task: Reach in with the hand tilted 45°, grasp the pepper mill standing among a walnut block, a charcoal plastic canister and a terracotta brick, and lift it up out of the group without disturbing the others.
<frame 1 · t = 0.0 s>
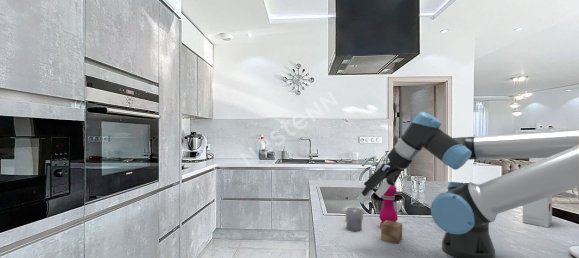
hand: (369, 198, 108), 15 cm above the countertop, tool tilted 35°, fingers open, 13 cm apart
pepper mill: (388, 228, 121), on the countertop
terracotta brick: (354, 221, 130), on the countertop
walnut block: (391, 239, 108), on the countertop
supplement box: (537, 223, 130), on the countertop
charcoal canister: (354, 229, 119), on the countertop
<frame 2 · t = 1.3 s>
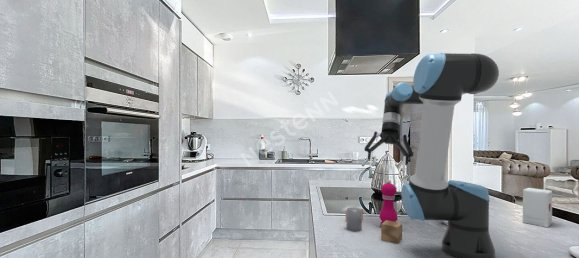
hand: (386, 169, 124), 24 cm above the countertop, tool tilted 25°, fingers open, 13 cm apart
nothing on the countertop moved.
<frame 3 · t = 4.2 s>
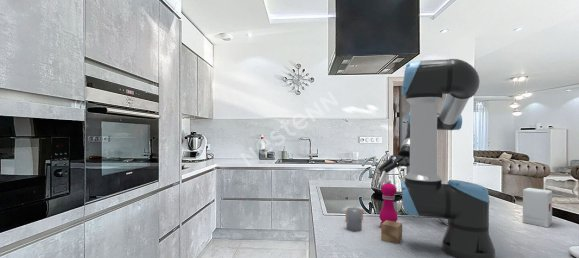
hand: (394, 186, 127), 16 cm above the countertop, tool tilted 45°, fingers open, 13 cm apart
nothing on the countertop moved.
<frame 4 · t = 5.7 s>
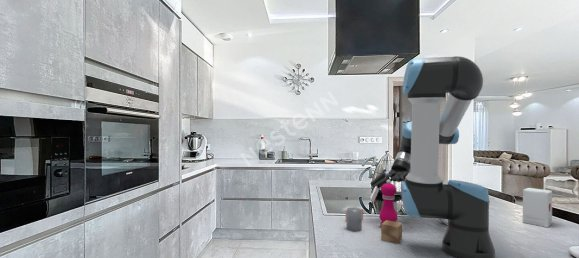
hand: (386, 203, 121), 10 cm above the countertop, tool tilted 45°, fingers open, 13 cm apart
nothing on the countertop moved.
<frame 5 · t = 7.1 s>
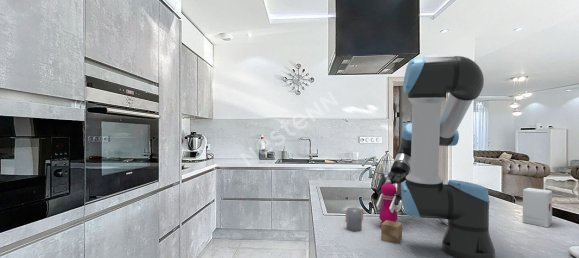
hand: (384, 209, 119), 8 cm above the countertop, tool tilted 45°, fingers closed on pepper mill, 5 cm apart
pepper mill: (388, 228, 121), on the countertop, touching gripper
everything else where it was.
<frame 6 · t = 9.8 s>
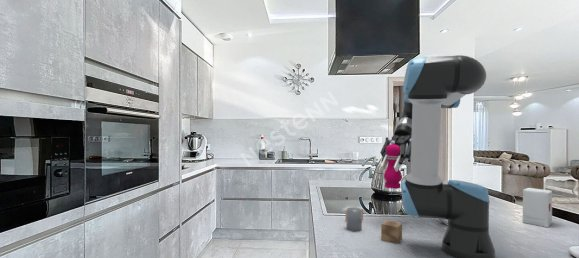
hand: (389, 168, 122), 25 cm above the countertop, tool tilted 45°, fingers closed on pepper mill, 5 cm apart
pepper mill: (392, 187, 125), point 16 cm above the countertop, touching gripper
everything else where it was.
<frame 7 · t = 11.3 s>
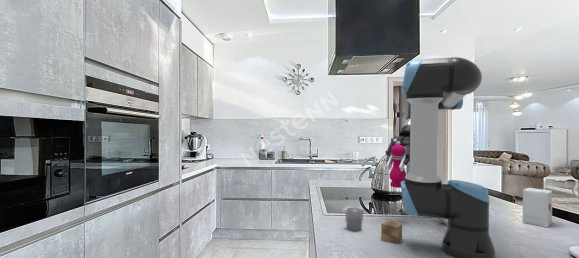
hand: (394, 168, 125), 24 cm above the countertop, tool tilted 45°, fingers closed on pepper mill, 5 cm apart
pepper mill: (397, 187, 128), point 16 cm above the countertop, touching gripper
everything else where it was.
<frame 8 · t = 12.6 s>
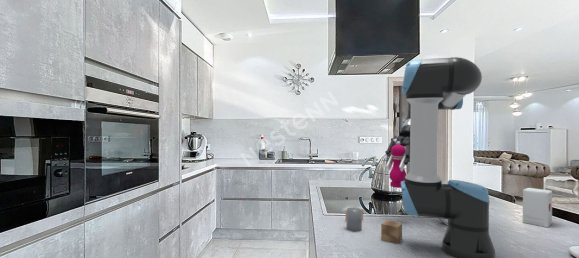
hand: (394, 168, 125), 24 cm above the countertop, tool tilted 45°, fingers closed on pepper mill, 5 cm apart
pepper mill: (397, 187, 128), point 16 cm above the countertop, touching gripper
everything else where it was.
at the end: the gripper is holding pepper mill; pepper mill point 15.7 cm above the countertop; charcoal canister moved 0.0 cm from its start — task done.
